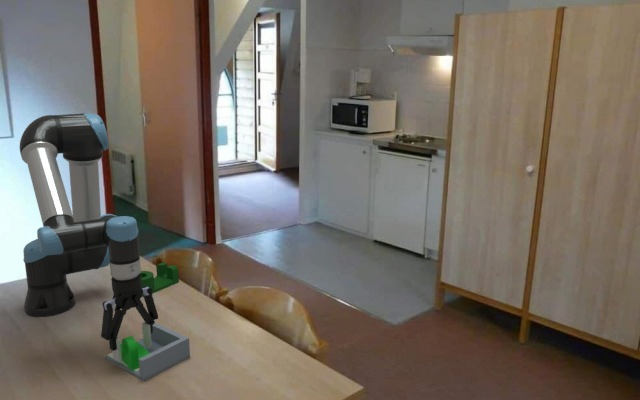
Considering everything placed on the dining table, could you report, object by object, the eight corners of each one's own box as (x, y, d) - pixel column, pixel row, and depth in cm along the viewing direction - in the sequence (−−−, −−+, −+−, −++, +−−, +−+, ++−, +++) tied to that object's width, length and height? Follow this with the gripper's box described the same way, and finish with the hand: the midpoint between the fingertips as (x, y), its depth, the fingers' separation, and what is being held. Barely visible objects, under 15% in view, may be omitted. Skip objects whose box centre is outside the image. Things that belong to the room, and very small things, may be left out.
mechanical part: (153, 362, 147) (151, 335, 145) (131, 370, 143) (129, 343, 141) (135, 345, 155) (133, 320, 153) (114, 352, 152) (112, 326, 150)
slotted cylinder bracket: (139, 299, 188) (138, 282, 186) (122, 293, 193) (121, 276, 191) (179, 282, 203) (178, 266, 201) (162, 277, 207) (161, 261, 206)
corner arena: (104, 358, 150) (102, 339, 149) (150, 337, 162) (148, 319, 160) (144, 381, 140) (142, 360, 138) (190, 356, 151) (188, 338, 150)
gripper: (96, 291, 133) (105, 374, 138) (168, 266, 150) (173, 340, 155) (80, 284, 137) (88, 364, 143) (151, 260, 154) (157, 333, 160)
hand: (133, 352), depth 149 cm, fingers open, 9 cm apart
